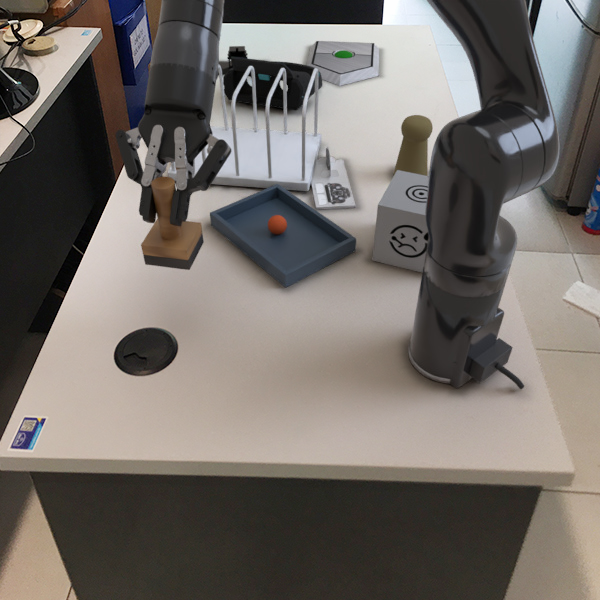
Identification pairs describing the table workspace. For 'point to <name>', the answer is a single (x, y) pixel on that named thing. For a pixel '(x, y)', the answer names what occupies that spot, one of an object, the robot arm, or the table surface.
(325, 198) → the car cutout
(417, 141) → the olive game pawn
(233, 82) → the virtual reality headset
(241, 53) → the black block
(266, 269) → the tray
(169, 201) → the wooden stamp
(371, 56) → the security device
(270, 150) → the file sorter
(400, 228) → the icon cube
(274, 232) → the crumb ball
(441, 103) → the table surface
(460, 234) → the robot arm
